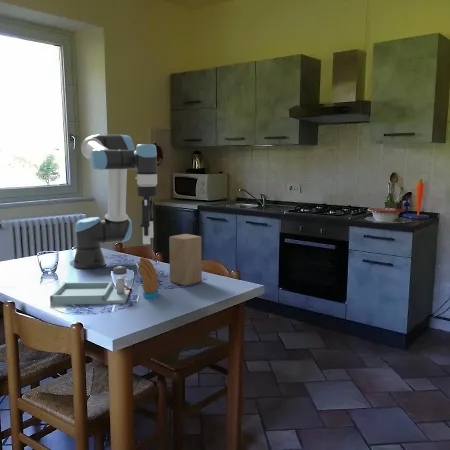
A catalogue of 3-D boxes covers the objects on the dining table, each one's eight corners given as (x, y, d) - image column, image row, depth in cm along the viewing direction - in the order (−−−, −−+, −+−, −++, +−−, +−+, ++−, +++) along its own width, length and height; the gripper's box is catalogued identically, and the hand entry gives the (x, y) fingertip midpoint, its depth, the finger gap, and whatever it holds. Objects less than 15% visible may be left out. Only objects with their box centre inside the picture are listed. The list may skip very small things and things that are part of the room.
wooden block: (169, 281, 196) (168, 236, 193) (186, 277, 204) (186, 233, 201) (184, 286, 190) (184, 239, 187) (202, 281, 197) (201, 236, 194)
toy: (146, 289, 184) (145, 253, 182) (163, 290, 183) (162, 254, 181) (135, 298, 173) (134, 260, 170) (152, 300, 171) (151, 261, 169)
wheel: (114, 271, 177) (114, 265, 177) (127, 271, 177) (127, 265, 177) (112, 274, 172) (112, 268, 172) (125, 274, 172) (125, 268, 172)
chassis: (64, 290, 183) (63, 273, 182) (131, 289, 185) (131, 272, 184) (50, 304, 165) (49, 286, 164) (125, 303, 167) (124, 285, 166)
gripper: (140, 183, 183) (142, 235, 186) (132, 187, 159) (134, 247, 162) (159, 183, 184) (160, 235, 187) (154, 187, 159) (155, 246, 162)
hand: (148, 240), depth 174 cm, fingers open, 13 cm apart
